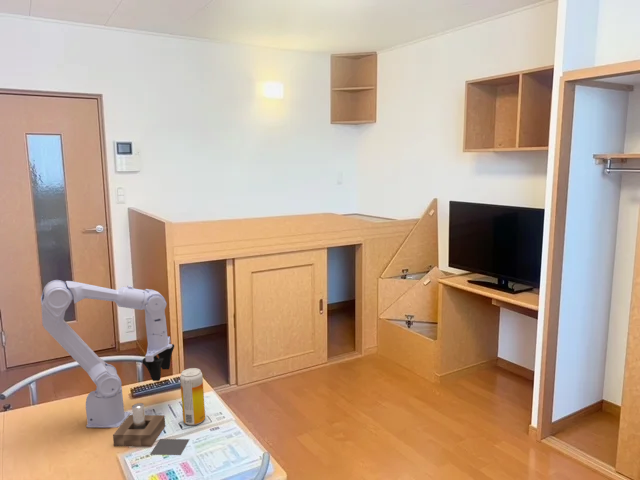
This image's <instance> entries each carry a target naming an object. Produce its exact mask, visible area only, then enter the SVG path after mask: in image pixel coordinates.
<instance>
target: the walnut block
mask: <svg viewBox="0 0 640 480" xmlns="http://www.w3.org/2000/svg"><path fill="white" fill-rule="evenodd" d="M165 417H166V416H165V415H158V414H150V415H149V414H148V415H147V414H145V422H146V428H145V429H134V422H133V414H130V415H129V416H128V417H127V418H126V419H125V421H124V422H123V423H122V424H121V425H120V427H118V428H116V430H115V432H114V433H113V434H112V440H113V446H114V447H137V448H138V447H140V448H141V447H142V448H143V447H144V448H145V447H147V448H149V447H150V448H151V447H152V446H153V445H154V444H155V442H156V440H157V439H158V438H159V436H160V435H161V433H162V432H163V431H164V429H165V427H166V420H165V419H166V418H165Z"/></svg>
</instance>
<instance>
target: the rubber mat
mask: <svg viewBox="0 0 640 480" xmlns="http://www.w3.org/2000/svg"><path fill="white" fill-rule="evenodd" d="M189 441H190V438H187V439H186V438H160V439H159V440H158V441H157V444H156V445H155V446H154V448H153V449H152V450H151V452H150V453H149V456H150V455H151V456H161V455H162V456H182V454H183V452H184V450H185V449H186V447H187V444H188V443H189Z"/></svg>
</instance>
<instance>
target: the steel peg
mask: <svg viewBox="0 0 640 480" xmlns="http://www.w3.org/2000/svg"><path fill="white" fill-rule="evenodd" d="M131 410H132V411H131V412H132V415H133V422H134V429H145V428H146V422H145V415H146V413H145V404H144V403H141V402H139V403H138V402H137V403H134V404H133V405H132V406H131Z"/></svg>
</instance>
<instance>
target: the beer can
mask: <svg viewBox="0 0 640 480" xmlns="http://www.w3.org/2000/svg"><path fill="white" fill-rule="evenodd" d="M179 382H180V395H181V408H182V409H181V411H182V421H183V423H184V424H186V425H187V426H197V425H200V424H201V423H203V422H204V420H205V419H206V410H205V407H206V406H205V396H204V395H205V394H204V393H205V392H204V381H203V373H202V371H201V369H200V368H196V367H191V368H190V367H189V368H187V369H184V370H182V372H181V373H180V377H179Z"/></svg>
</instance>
